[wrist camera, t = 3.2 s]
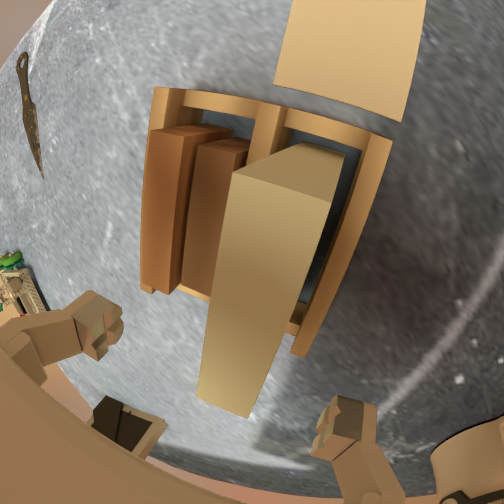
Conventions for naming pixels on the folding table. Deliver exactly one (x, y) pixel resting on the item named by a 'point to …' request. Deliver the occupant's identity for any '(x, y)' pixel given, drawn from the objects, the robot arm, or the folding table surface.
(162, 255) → the cedar offcut
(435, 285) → the folding table surface
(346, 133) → the offcut rack
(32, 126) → the throwing knife
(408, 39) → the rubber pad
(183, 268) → the walnut offcut
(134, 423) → the picture frame
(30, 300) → the robot kit
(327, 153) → the tan wooden plank
